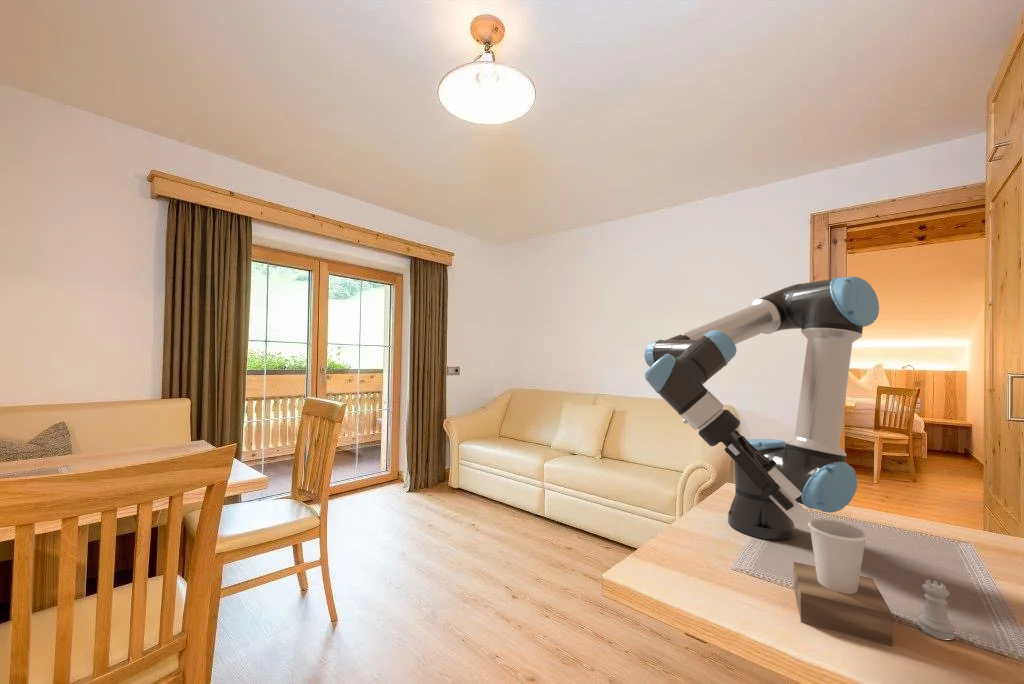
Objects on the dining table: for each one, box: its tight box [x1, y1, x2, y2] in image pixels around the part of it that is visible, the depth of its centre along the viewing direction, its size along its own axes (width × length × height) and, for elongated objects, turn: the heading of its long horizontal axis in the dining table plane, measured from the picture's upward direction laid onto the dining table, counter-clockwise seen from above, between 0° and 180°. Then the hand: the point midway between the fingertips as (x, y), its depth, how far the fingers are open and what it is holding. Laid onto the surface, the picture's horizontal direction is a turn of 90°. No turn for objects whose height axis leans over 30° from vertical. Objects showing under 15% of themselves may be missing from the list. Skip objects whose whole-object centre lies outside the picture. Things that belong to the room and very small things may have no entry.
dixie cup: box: [807, 518, 868, 594], centre depth 75 cm, size 8×8×10 cm
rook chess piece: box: [917, 579, 956, 640], centre depth 70 cm, size 4×4×8 cm
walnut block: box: [793, 561, 894, 647], centre depth 75 cm, size 12×12×5 cm
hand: (801, 509), depth 77 cm, fingers open, 13 cm apart
